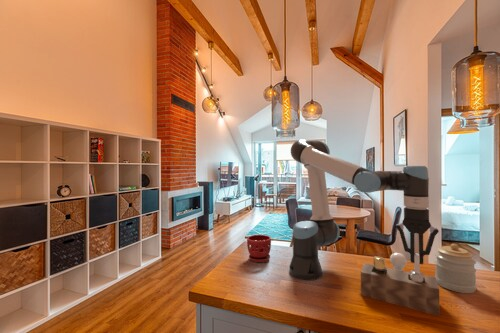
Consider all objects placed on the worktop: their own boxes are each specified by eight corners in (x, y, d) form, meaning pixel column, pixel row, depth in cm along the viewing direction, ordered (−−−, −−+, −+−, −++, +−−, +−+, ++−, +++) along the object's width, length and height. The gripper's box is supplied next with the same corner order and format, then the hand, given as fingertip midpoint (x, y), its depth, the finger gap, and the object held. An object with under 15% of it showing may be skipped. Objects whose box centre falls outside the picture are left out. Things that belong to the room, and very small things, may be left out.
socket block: (360, 295, 91) (360, 272, 91) (364, 284, 99) (364, 263, 99) (439, 316, 78) (439, 289, 78) (436, 301, 86) (435, 277, 86)
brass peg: (372, 279, 91) (372, 258, 91) (373, 274, 95) (373, 255, 95) (385, 282, 89) (385, 261, 89) (386, 277, 93) (385, 257, 93)
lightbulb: (409, 281, 102) (409, 256, 102) (393, 280, 103) (393, 255, 103) (402, 274, 108) (402, 251, 108) (387, 273, 109) (387, 250, 109)
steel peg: (409, 295, 85) (409, 273, 85) (409, 290, 88) (409, 269, 88) (424, 299, 82) (424, 276, 82) (423, 293, 86) (423, 271, 86)
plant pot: (275, 257, 129) (274, 235, 129) (264, 266, 118) (263, 242, 118) (254, 253, 136) (254, 232, 136) (242, 260, 125) (242, 238, 125)
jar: (437, 275, 107) (437, 237, 107) (476, 285, 98) (476, 243, 98) (432, 285, 98) (432, 243, 98) (475, 298, 88) (475, 251, 89)
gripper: (394, 207, 86) (395, 271, 86) (440, 210, 79) (441, 280, 78) (395, 204, 92) (396, 264, 92) (437, 207, 85) (438, 272, 85)
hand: (417, 272), depth 85 cm, fingers closed
